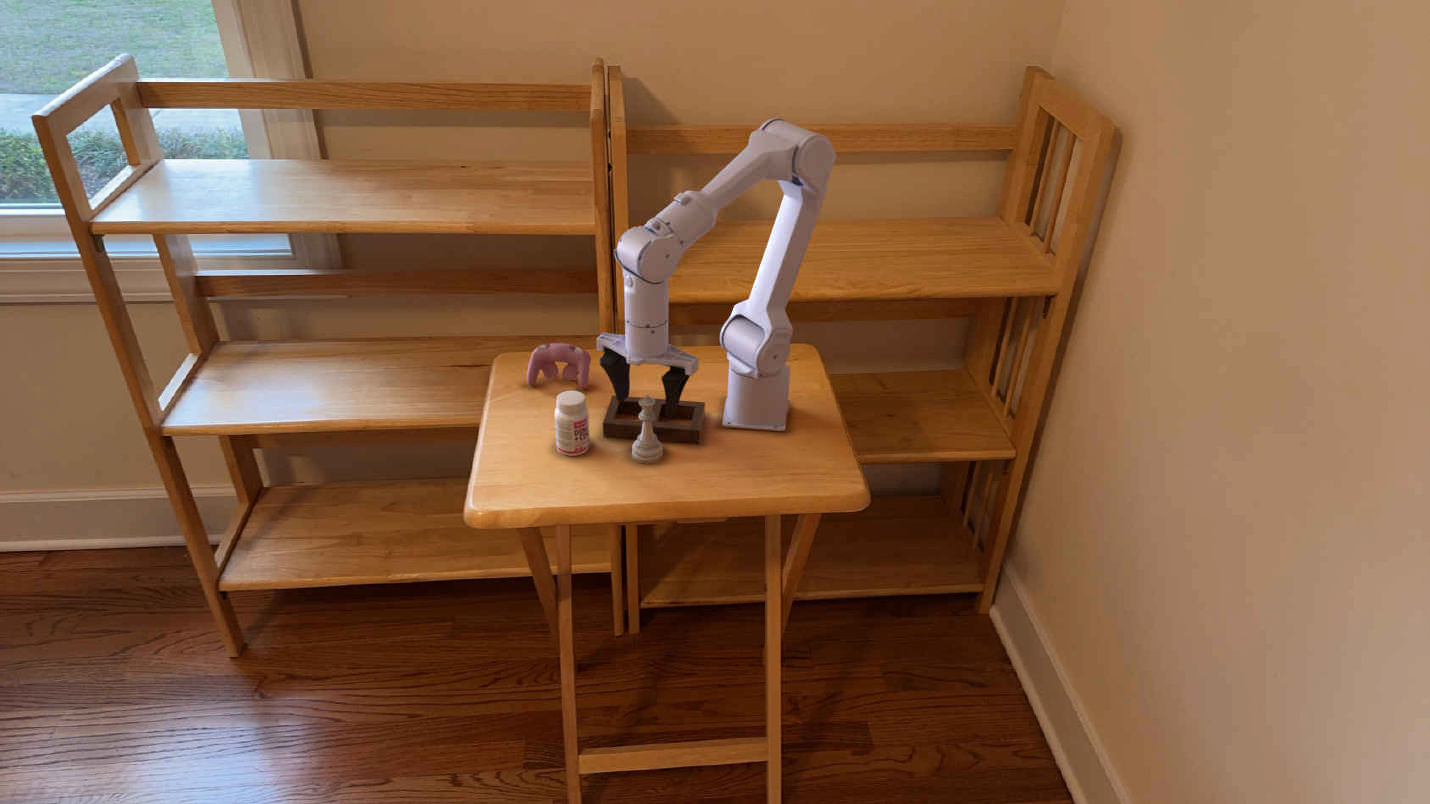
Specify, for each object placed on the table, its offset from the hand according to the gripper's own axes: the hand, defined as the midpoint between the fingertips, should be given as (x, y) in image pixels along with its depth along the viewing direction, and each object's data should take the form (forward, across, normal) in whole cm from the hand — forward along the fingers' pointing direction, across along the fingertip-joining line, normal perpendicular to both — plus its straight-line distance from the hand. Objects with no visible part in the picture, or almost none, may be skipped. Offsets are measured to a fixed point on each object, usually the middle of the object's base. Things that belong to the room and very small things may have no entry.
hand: (647, 405), depth 132 cm
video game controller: (+9, -22, +12) cm, 27 cm away
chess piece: (+8, 0, 0) cm, 9 cm away
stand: (+8, -3, +7) cm, 11 cm away
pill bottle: (+8, -10, -3) cm, 14 cm away
